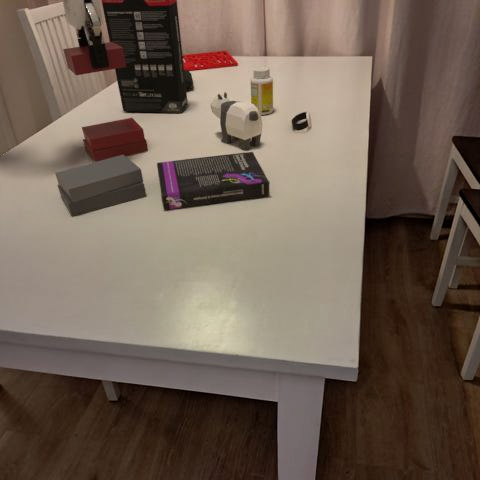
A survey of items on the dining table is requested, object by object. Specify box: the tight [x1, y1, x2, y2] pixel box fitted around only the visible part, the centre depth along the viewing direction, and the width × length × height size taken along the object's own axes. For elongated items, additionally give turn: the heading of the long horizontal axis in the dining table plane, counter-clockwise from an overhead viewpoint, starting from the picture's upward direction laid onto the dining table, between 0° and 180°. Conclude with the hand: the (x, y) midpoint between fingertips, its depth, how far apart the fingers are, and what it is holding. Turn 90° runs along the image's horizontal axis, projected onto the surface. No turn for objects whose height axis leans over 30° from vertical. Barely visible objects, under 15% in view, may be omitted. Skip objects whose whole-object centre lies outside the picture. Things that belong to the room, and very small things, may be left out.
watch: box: [291, 110, 312, 131], centre depth 110 cm, size 8×5×4 cm, turn 168°
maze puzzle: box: [182, 50, 239, 71], centre depth 164 cm, size 20×20×1 cm
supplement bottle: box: [250, 66, 274, 116], centre depth 117 cm, size 6×6×10 cm
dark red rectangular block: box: [62, 41, 126, 76], centre depth 92 cm, size 10×7×3 cm
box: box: [156, 151, 271, 211], centre depth 88 cm, size 14×4×20 cm
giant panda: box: [209, 91, 263, 151], centre depth 103 cm, size 15×6×10 cm, turn 42°
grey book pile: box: [54, 155, 147, 217], centre depth 86 cm, size 14×10×5 cm
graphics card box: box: [101, 0, 189, 114], centre depth 117 cm, size 17×7×27 cm, turn 80°
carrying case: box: [184, 70, 194, 92], centre depth 141 cm, size 11×3×15 cm
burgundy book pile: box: [81, 117, 149, 163], centre depth 103 cm, size 12×9×5 cm
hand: (95, 63), depth 92 cm, fingers closed on dark red rectangular block, 7 cm apart
